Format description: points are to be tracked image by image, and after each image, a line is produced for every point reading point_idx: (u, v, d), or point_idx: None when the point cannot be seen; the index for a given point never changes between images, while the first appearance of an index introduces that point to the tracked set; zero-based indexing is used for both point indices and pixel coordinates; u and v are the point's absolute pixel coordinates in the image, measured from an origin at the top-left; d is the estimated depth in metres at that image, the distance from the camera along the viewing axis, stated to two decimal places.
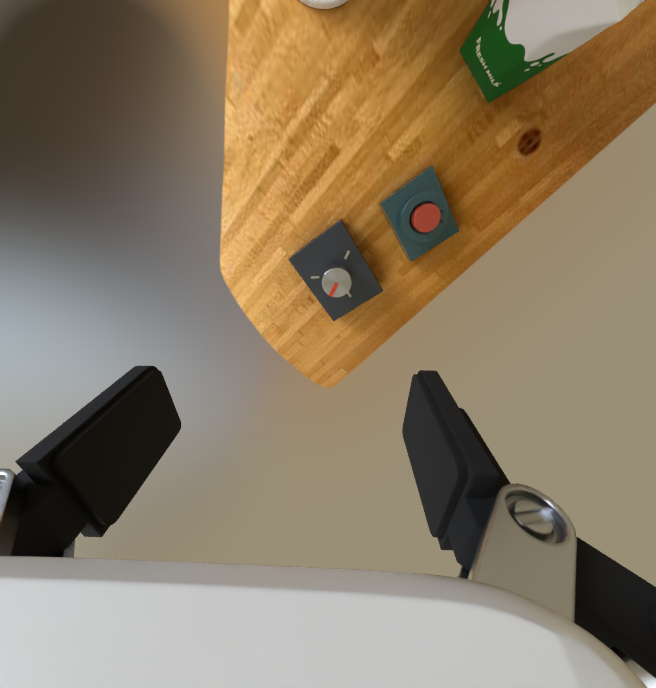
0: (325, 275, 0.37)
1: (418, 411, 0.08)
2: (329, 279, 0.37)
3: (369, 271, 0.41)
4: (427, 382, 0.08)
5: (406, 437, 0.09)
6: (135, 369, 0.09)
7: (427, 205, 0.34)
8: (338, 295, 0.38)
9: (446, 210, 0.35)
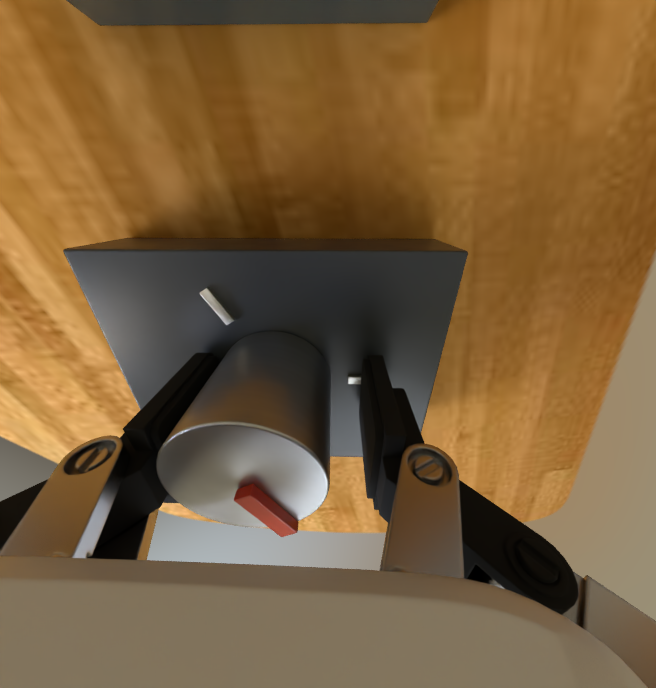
0: (180, 499, 0.07)
1: (364, 391, 0.09)
2: (206, 496, 0.07)
3: (338, 259, 0.08)
4: (371, 364, 0.09)
5: (360, 417, 0.10)
6: (197, 355, 0.09)
7: None
8: (311, 504, 0.07)
9: None
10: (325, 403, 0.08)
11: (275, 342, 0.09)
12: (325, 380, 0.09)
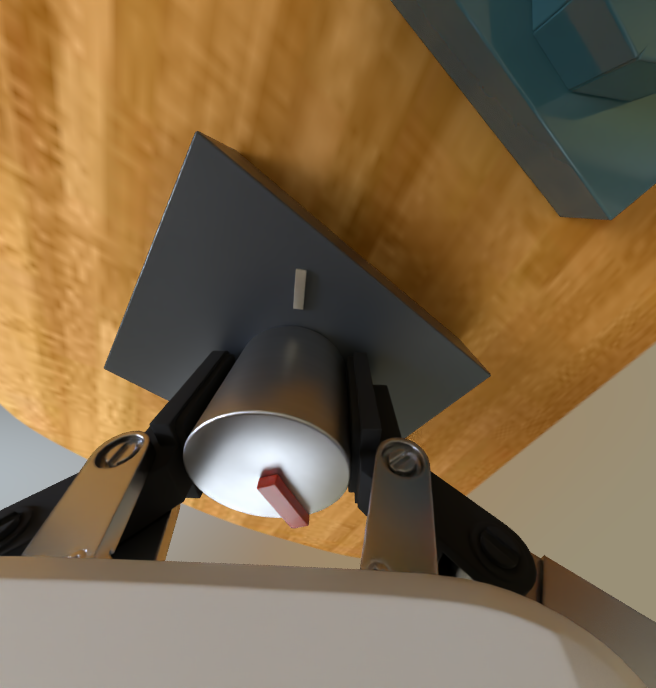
0: (198, 482, 0.07)
1: (348, 387, 0.09)
2: (226, 481, 0.07)
3: (418, 323, 0.09)
4: (354, 361, 0.09)
5: None
6: (214, 353, 0.09)
7: None
8: (327, 499, 0.07)
9: None
10: (347, 404, 0.08)
11: (303, 338, 0.09)
12: (345, 381, 0.09)
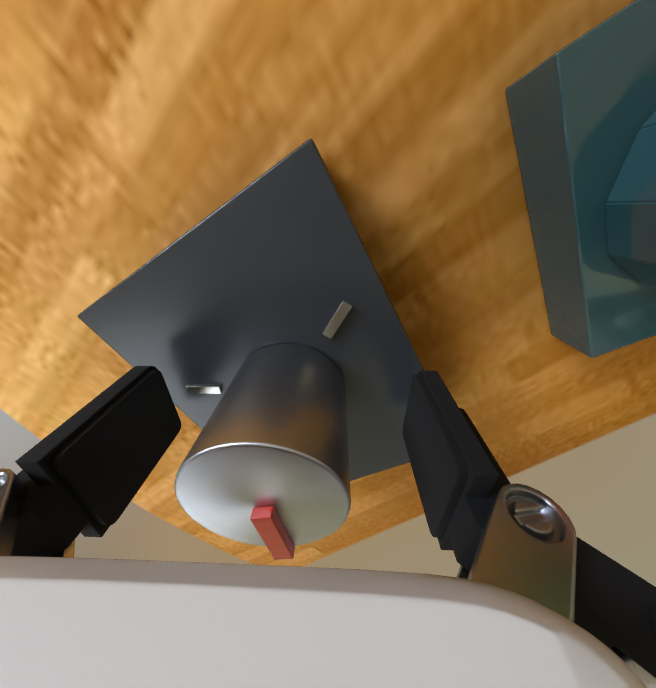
0: (185, 504, 0.06)
1: (418, 411, 0.08)
2: (216, 506, 0.06)
3: None
4: (427, 382, 0.08)
5: (406, 437, 0.09)
6: (135, 369, 0.09)
7: None
8: (317, 534, 0.07)
9: None
10: (347, 435, 0.08)
11: (313, 361, 0.09)
12: (346, 409, 0.09)
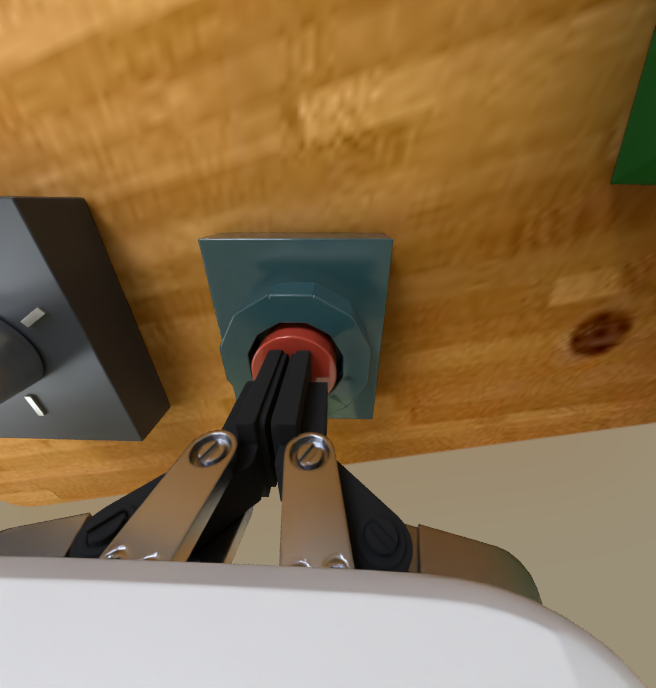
0: None
1: None
2: None
3: (110, 389, 0.13)
4: (295, 359, 0.09)
5: None
6: (271, 352, 0.09)
7: (307, 344, 0.10)
8: None
9: (361, 384, 0.11)
10: None
11: None
12: (17, 382, 0.12)
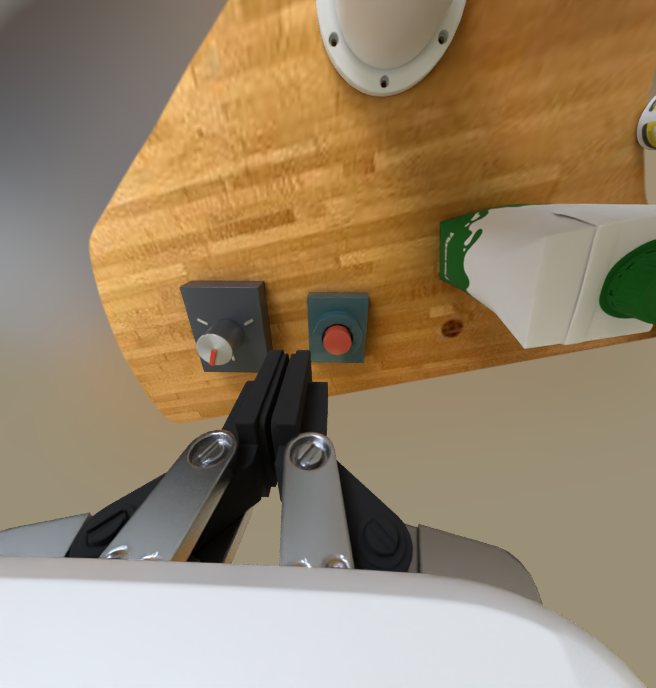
0: (198, 343, 0.30)
1: None
2: (204, 346, 0.31)
3: (264, 349, 0.36)
4: (295, 359, 0.09)
5: None
6: (271, 352, 0.09)
7: (342, 333, 0.31)
8: (221, 363, 0.32)
9: (359, 344, 0.34)
10: (237, 348, 0.33)
11: (237, 328, 0.33)
12: (240, 344, 0.34)
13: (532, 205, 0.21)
